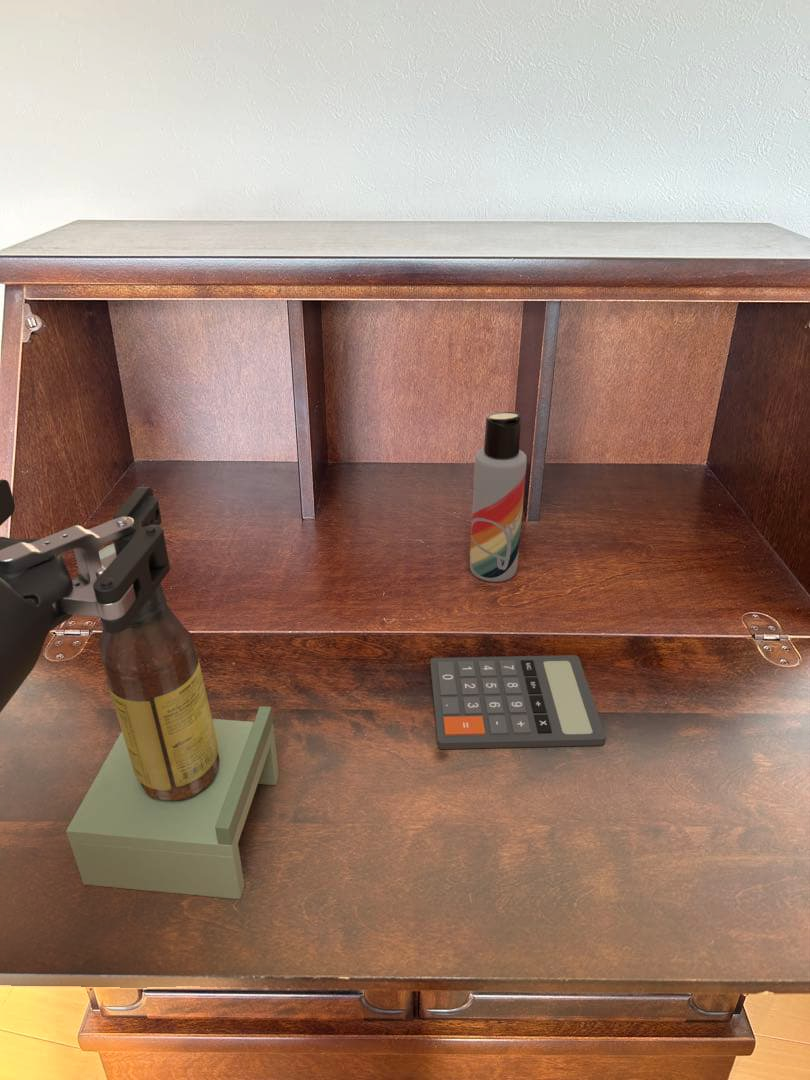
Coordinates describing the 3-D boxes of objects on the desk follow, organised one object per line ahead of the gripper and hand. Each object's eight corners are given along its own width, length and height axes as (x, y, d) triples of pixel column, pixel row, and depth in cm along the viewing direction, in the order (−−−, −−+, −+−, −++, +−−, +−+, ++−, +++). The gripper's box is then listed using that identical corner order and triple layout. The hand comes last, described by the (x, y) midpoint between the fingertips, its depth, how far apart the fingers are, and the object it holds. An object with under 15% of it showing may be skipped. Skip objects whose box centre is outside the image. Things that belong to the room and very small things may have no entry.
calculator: (430, 656, 81) (578, 653, 81) (429, 663, 81) (577, 660, 82) (438, 741, 71) (606, 737, 71) (437, 749, 71) (605, 745, 72)
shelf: (83, 885, 60) (59, 813, 56) (143, 763, 70) (128, 696, 66) (240, 900, 59) (228, 828, 55) (279, 774, 69) (271, 706, 65)
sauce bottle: (222, 739, 64) (187, 524, 54) (219, 801, 59) (181, 575, 49) (137, 749, 63) (86, 532, 53) (127, 812, 58) (67, 585, 48)
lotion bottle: (483, 587, 93) (494, 427, 83) (460, 563, 98) (468, 408, 87) (525, 576, 95) (541, 419, 85) (501, 553, 100) (513, 400, 89)
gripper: (46, 626, 30) (188, 443, 44) (-307, 602, 31) (-61, 431, 45) (87, 767, 34) (205, 558, 48) (-228, 741, 35) (-24, 545, 49)
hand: (76, 497), depth 46 cm, fingers open, 8 cm apart
